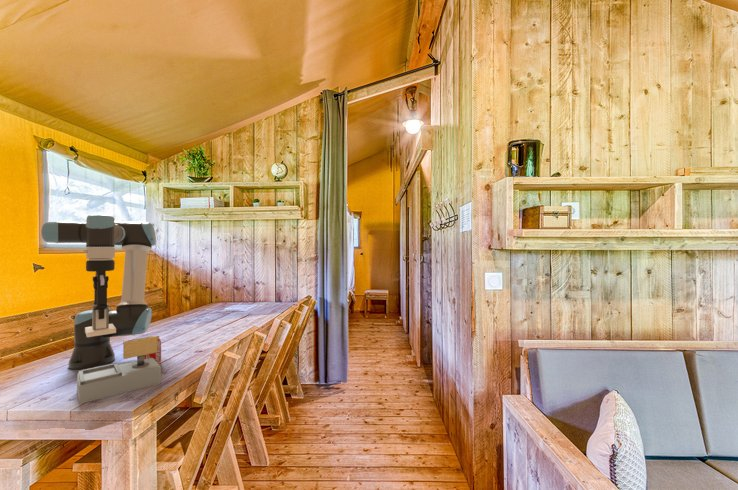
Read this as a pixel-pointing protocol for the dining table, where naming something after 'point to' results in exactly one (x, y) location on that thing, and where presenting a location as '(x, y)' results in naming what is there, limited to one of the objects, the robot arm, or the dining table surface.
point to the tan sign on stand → (139, 348)
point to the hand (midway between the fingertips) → (100, 326)
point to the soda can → (156, 355)
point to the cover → (108, 330)
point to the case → (116, 379)
